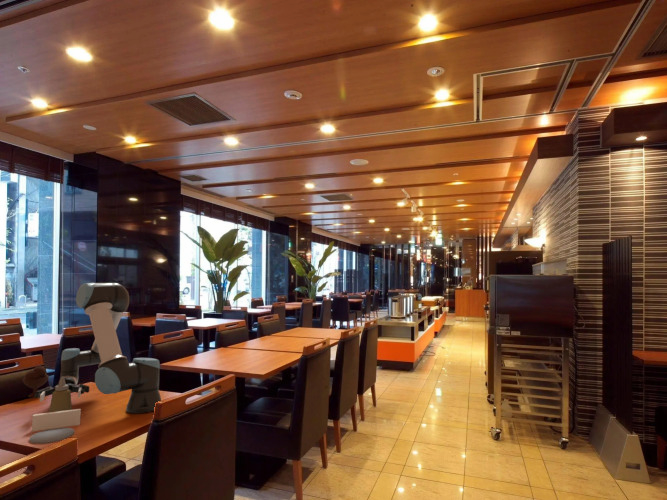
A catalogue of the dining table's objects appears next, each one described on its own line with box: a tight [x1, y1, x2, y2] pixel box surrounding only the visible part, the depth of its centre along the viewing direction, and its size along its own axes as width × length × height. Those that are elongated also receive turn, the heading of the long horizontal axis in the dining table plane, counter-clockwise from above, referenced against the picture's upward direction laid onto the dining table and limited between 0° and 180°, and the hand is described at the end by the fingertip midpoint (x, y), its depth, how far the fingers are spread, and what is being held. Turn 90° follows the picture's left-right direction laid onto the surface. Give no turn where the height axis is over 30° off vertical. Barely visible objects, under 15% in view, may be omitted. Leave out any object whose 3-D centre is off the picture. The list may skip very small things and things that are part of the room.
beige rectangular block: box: [31, 408, 82, 432], centre depth 162 cm, size 16×2×6 cm, turn 118°
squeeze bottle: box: [48, 377, 73, 413], centre depth 171 cm, size 8×8×18 cm
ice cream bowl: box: [22, 365, 50, 398], centre depth 208 cm, size 11×11×15 cm
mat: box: [29, 427, 75, 445], centre depth 152 cm, size 14×14×1 cm
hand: (60, 396), depth 171 cm, fingers open, 13 cm apart
